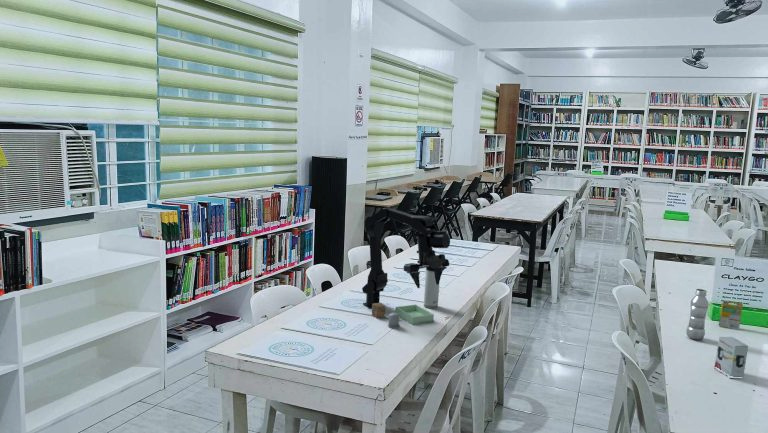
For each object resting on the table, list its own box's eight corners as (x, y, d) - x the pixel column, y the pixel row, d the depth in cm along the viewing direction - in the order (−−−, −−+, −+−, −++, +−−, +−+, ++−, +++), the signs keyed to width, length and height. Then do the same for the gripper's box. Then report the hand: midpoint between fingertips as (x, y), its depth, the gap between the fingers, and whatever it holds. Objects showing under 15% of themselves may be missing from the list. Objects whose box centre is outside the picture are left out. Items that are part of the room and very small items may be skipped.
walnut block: (371, 315, 239) (372, 303, 238) (380, 314, 241) (380, 302, 240) (376, 318, 235) (376, 306, 235) (384, 317, 237) (385, 305, 236)
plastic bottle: (702, 337, 231) (708, 289, 228) (705, 343, 225) (712, 293, 222) (684, 334, 233) (690, 286, 230) (687, 340, 227) (693, 291, 224)
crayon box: (738, 328, 245) (742, 301, 243) (739, 330, 242) (743, 303, 240) (718, 324, 248) (722, 298, 246) (719, 326, 245) (723, 300, 243)
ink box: (713, 368, 201) (718, 335, 199) (726, 368, 201) (731, 336, 199) (730, 379, 192) (735, 345, 190) (743, 379, 193) (749, 345, 191)
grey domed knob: (385, 325, 228) (386, 313, 227) (395, 323, 230) (396, 311, 229) (391, 329, 224) (392, 316, 223) (401, 327, 226) (402, 315, 225)
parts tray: (395, 313, 242) (395, 306, 241) (415, 311, 247) (415, 304, 246) (412, 324, 230) (412, 317, 229) (433, 321, 235) (433, 314, 234)
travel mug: (437, 309, 250) (440, 264, 247) (422, 307, 252) (425, 263, 248) (439, 305, 256) (442, 261, 253) (424, 303, 258) (427, 260, 254)
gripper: (416, 252, 220) (419, 292, 221) (456, 246, 229) (458, 285, 230) (401, 250, 229) (404, 289, 230) (440, 244, 238) (442, 281, 239)
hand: (428, 286), depth 232 cm, fingers open, 9 cm apart
